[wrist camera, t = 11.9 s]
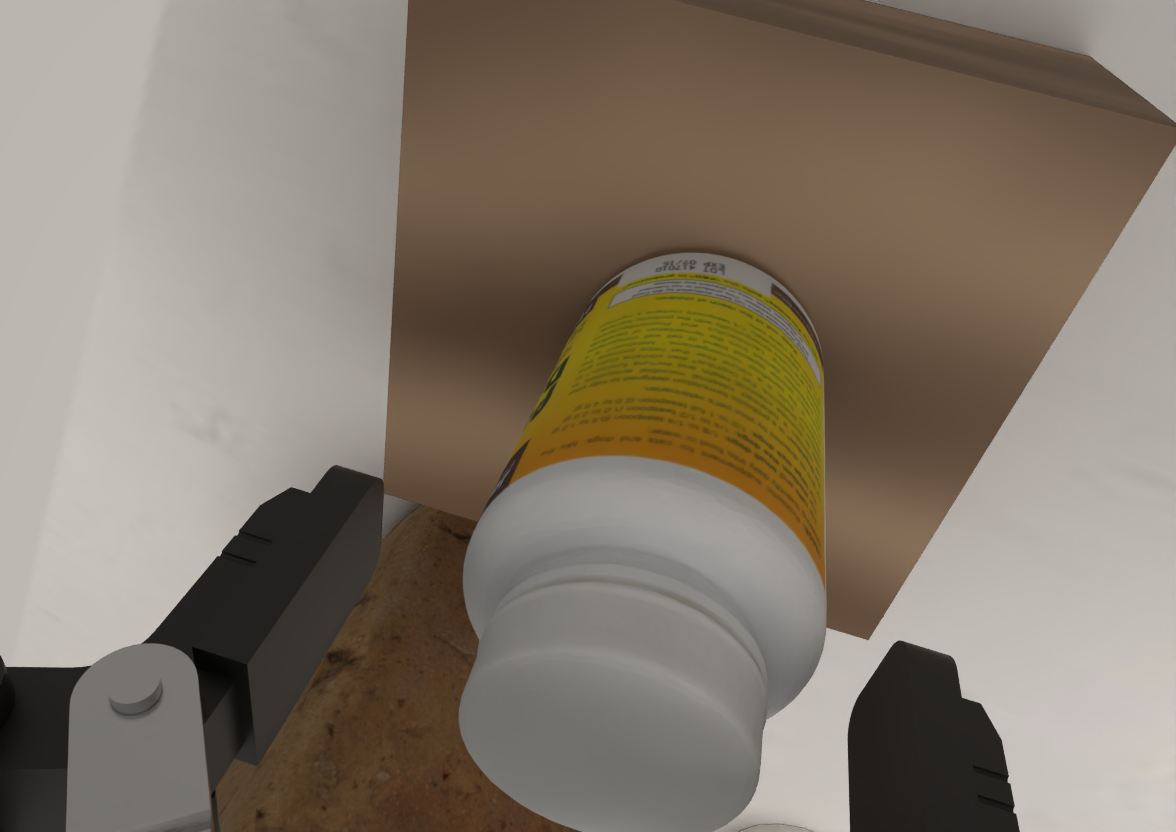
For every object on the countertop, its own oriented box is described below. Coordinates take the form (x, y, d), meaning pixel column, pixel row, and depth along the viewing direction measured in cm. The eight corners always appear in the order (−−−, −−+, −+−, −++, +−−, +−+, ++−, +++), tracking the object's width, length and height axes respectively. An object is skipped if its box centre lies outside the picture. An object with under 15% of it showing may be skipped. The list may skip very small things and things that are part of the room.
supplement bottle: (573, 232, 18) (364, 568, 9) (842, 252, 17) (868, 648, 8) (579, 442, 21) (424, 831, 13) (805, 470, 20) (798, 914, 12)
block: (353, 540, 34) (-58, 1162, 18) (458, 450, 30) (49, 1149, 14) (545, 689, 37) (337, 1344, 21) (666, 625, 33) (523, 1378, 17)
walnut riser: (509, -88, 20) (412, -66, 15) (1090, 57, 19) (1184, 129, 14) (456, 382, 28) (382, 492, 23) (858, 499, 27) (868, 640, 22)
